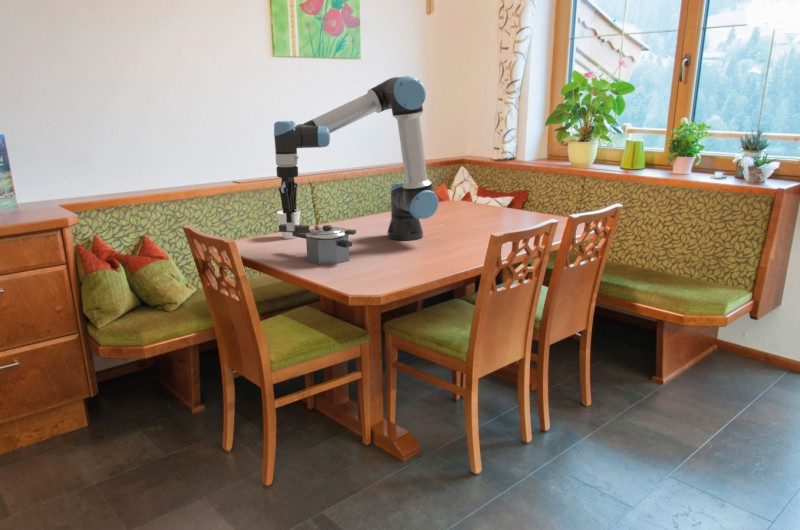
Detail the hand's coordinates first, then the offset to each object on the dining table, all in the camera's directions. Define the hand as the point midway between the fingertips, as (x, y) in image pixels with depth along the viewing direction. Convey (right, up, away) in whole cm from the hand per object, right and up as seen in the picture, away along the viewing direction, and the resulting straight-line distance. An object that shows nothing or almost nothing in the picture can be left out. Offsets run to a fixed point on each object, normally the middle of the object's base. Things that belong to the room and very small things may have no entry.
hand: (291, 230), depth 221 cm
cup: (-7, -1, +35) cm, 36 cm away
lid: (+10, -1, 0) cm, 10 cm away
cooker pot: (+11, -10, +3) cm, 15 cm away
